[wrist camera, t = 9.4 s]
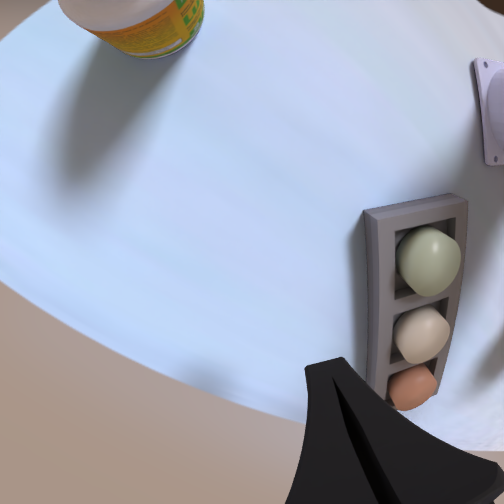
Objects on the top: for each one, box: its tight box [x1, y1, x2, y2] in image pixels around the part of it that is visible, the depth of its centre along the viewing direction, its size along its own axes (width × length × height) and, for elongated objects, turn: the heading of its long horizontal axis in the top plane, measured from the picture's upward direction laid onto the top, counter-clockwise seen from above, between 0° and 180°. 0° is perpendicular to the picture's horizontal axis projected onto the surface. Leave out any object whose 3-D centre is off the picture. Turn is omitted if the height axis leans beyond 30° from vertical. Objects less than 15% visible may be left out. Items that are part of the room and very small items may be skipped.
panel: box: [364, 193, 468, 410], centre depth 21 cm, size 7×19×2 cm, turn 12°
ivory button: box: [393, 304, 450, 364], centre depth 20 cm, size 4×4×2 cm
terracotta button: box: [387, 363, 437, 411], centre depth 22 cm, size 4×4×2 cm
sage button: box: [395, 225, 461, 297], centre depth 18 cm, size 4×4×2 cm
